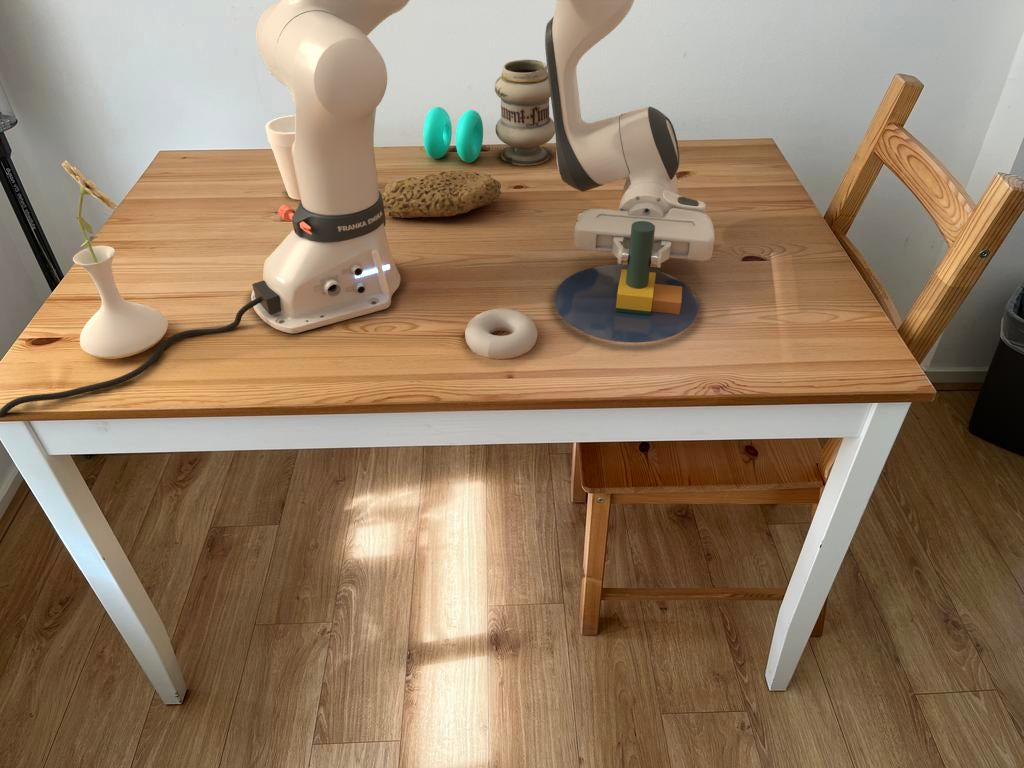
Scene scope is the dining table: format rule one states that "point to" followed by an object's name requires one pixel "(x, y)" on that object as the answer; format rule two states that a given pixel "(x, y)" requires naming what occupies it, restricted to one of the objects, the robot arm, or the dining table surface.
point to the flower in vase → (112, 296)
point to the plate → (594, 307)
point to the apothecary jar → (524, 112)
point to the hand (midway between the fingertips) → (639, 261)
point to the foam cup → (284, 150)
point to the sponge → (440, 194)
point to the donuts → (441, 132)
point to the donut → (501, 345)
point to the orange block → (667, 299)
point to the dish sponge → (638, 272)
